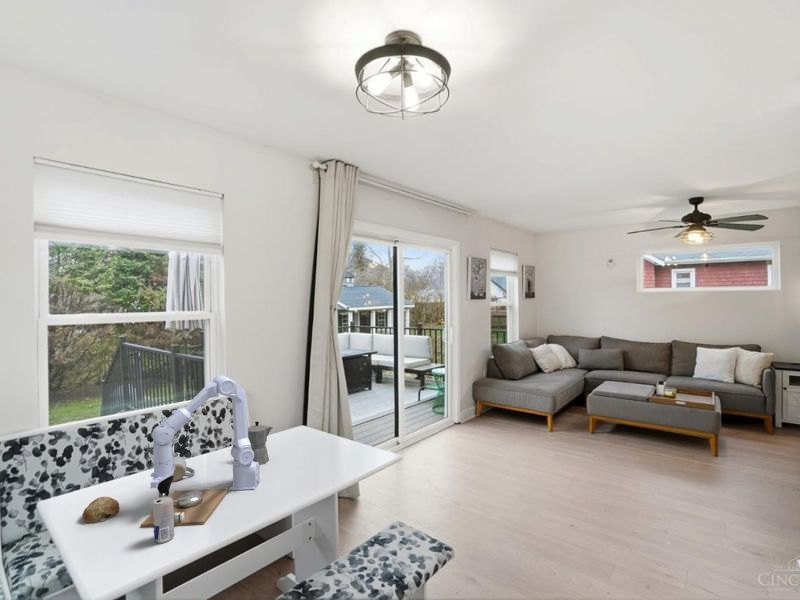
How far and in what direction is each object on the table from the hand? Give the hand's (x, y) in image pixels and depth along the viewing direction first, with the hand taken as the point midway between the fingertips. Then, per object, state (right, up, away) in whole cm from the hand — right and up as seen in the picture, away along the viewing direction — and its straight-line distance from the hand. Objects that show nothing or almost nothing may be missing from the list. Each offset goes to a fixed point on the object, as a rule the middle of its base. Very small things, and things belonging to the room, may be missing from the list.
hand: (164, 499), depth 146 cm
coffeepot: (+18, -3, +39) cm, 44 cm away
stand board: (+8, -3, 0) cm, 9 cm away
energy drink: (+10, -4, -18) cm, 21 cm away
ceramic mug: (-8, -4, +25) cm, 27 cm away
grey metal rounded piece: (+5, -2, +1) cm, 6 cm away
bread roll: (-20, -4, -4) cm, 21 cm away
